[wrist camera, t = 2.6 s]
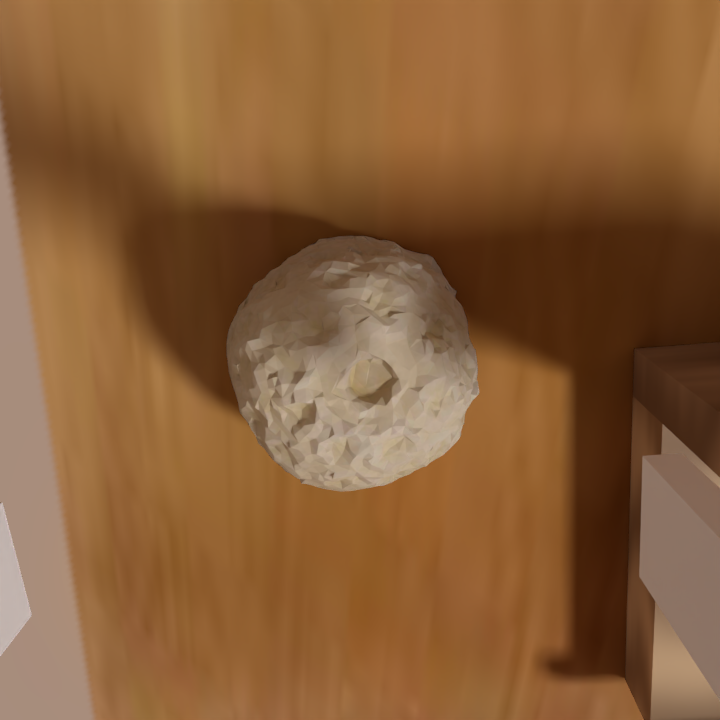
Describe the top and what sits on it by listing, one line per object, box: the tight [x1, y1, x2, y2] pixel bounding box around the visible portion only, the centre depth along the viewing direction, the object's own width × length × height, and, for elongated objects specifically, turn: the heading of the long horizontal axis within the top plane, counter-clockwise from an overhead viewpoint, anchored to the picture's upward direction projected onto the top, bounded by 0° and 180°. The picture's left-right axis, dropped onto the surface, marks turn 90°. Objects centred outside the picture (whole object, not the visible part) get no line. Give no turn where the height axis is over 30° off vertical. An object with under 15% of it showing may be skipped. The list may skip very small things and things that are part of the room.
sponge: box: [226, 236, 479, 491], centre depth 24 cm, size 9×10×10 cm
